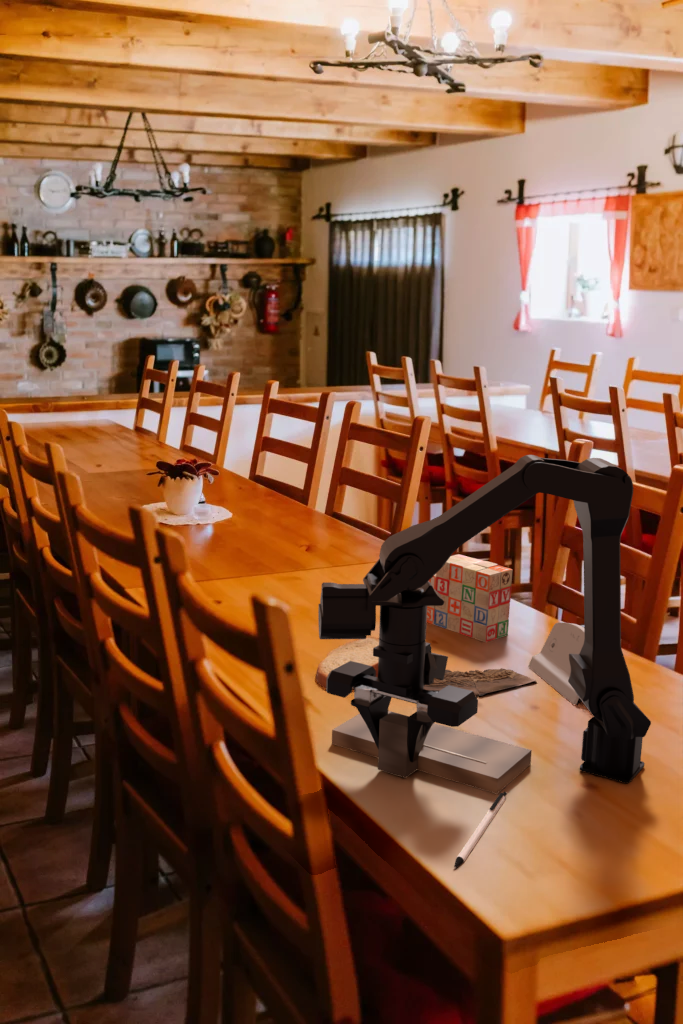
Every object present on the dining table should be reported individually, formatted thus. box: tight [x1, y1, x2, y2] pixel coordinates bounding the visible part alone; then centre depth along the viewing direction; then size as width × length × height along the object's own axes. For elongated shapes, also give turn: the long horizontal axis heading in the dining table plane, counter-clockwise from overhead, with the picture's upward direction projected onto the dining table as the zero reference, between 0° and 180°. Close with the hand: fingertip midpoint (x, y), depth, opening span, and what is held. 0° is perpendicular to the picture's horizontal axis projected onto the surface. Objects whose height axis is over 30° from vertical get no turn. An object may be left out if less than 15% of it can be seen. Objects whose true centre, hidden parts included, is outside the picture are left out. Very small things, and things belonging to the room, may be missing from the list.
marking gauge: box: [377, 711, 418, 779], centre depth 137 cm, size 4×7×7 cm, turn 147°
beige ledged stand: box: [528, 622, 585, 705], centre depth 167 cm, size 17×5×10 cm, turn 15°
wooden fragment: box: [424, 667, 538, 696], centre depth 165 cm, size 26×11×1 cm, turn 98°
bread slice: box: [315, 635, 379, 691], centre depth 171 cm, size 18×18×4 cm
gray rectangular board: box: [331, 710, 532, 795], centre depth 141 cm, size 24×10×2 cm, turn 57°
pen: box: [453, 791, 507, 869], centre depth 122 cm, size 1×19×1 cm, turn 156°
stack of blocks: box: [426, 553, 513, 643], centre depth 193 cm, size 21×6×12 cm, turn 43°
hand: (398, 756), depth 135 cm, fingers closed on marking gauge, 4 cm apart
